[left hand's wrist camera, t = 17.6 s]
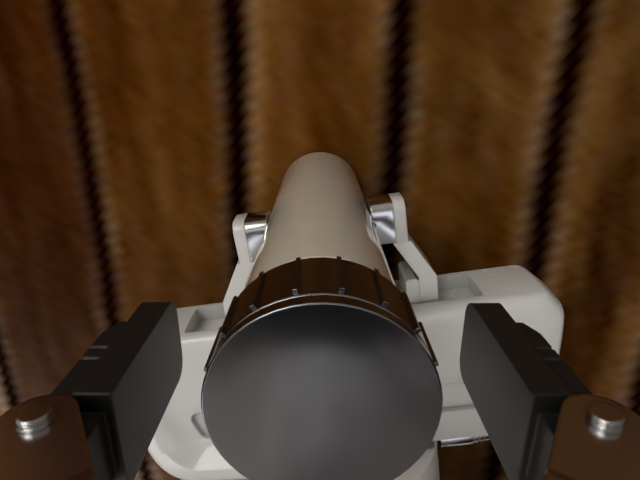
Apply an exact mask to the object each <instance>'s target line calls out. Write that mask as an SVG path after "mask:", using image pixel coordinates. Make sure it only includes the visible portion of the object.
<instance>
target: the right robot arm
mask: <svg viewBox="0 0 640 480" xmlns="http://www.w3.org/2000/svg"><path fill="white" fill-rule="evenodd" d="M367 206H368V209H369V212H370V215H371V218H372V220H373V223H374V226H375V229H376V231H377V234H378V237H379V240H380V242H381V244H390V243H393V244H394V246H395V247H396V248H397V250H398V251H399V252H400V254H401V255H402V256H403V257H404V259H405V260H406V261H400V262H399V263H398V271H399V280H394V281H395V284H396V287H397V288H398V289H399V290H400V291H401V292H404V291H405V292H406V293H407V295H408V298H409V300H410V303H411V305H412V308H413V310H414V313H415V315H416V318H417V320H418V322H422V324H423V327H424V329H425V332H426V334H427V337H428V339H429V341H430V344H431V346H432V349H433V351H434V354H435V356H436V359H437V361H438V364H439V366H437V367H436V368H437V371H438V374H439V377H440V381H441V385H442V394H443V405H442V414H441V418H440V423H439V426H438V429H437V431H436V434H435V436H434V438H433V440H432V442H431V443H430V445H429V447H428V448H427V450H426V451H425V452H424V454H423V455H422V456H421V457H420V459H419V460H418V461H417V462H416V463H415V464H414V465H413V466H412V467H411V468H409V469H408V470H407V471H405V472H404V473H403V474H402V475H400V476H399V477H397V478H396V479H394V480H440V476H439V459H438V451H437V450H439V448H443V447H453V446H462V445H469V444H474V443H478V442H482V441H484V440H485V441H488V440H490V438H489V436H488V434H487V432H486V430H485V428H484V425H483V423H482V421H481V419H480V417H479V415H478V412H477V410H476V408H475V406H474V404H473V402H472V400H471V397H470V395H469V393H468V391H467V389H466V387H465V385H464V382H463V380H462V376H461V371H460V350H461V342H462V334H463V326H464V318H465V311H466V307H467V305H468V304H469V303H500V304H501V305H502V306H503V307H504V308H505V309H506V311H507V312H508V313H509V315H510V316H511V317H512V318H513V320H514V321H515V322H523V323H524V324H526V325H528V326H529V327H531V328H532V329H534V330H536V331H537V332H539V333H540V334H541V335H542V336H543V337H544V338H545V339H546V341H547V342H548V343H549V344H550V345H551V346H552V350H555V351H556V352H557V354H558V355H559V354H560V348H561V342H562V334H563V327H564V310H563V307H562V305H561V303H560V301H559V300H558V298H557V297H556V296H555V295H554V294H553V292H552V291H551V290H550V289H549V288H548V287H547V286H546V285H545V284H544V283H543V282H542V281H540V280H539V279H538V278H537V277H535V276H534V275H533V274H532V273H530V272H529V271H528V270H526V269H525V268H523V267H521V266H518V265H510V266H502V267H494V268H486V269H479V270H471V271H463V272H455V273H447V274H440V275H436V273H435V271H434V269H433V268H432V266H431V264H430V263H429V261H428V259H427V257H426V256H425V255H424V253H423V252H422V251H421V249H420V248H419V247H418V245H417V244H416V243H415V242H414V240H413V239H412V238H411V236H410V235H409V234H408V230H407V217H406V207H405V203H404V199H403V197H402V196H401V194H400V193H399V192H398V193H391V194H384V195H377V196H371V197H367ZM269 217H270V211H263V212H255V213H245V214H239V215H237V216H236V217H235V219H234V221H233V235H234V240H235V244H236V249H237V253H238V258H239V260H238V263H237V265H236V268H235V271H234V273H233V276H232V279H231V282H230V284H229V287H228V290H227V293H226V295H225V298H224V301H223V302H221V303H214V304H206V305H198V306H190V307H182V308H176V309H177V314H178V322H179V331H180V339H181V347H182V356H183V364H182V372H181V377H180V380H179V382H178V385H177V387H176V389H175V391H174V393H173V395H172V398H171V400H170V402H169V404H168V406H167V408H166V411H165V413H164V415H163V417H162V419H161V422H160V424H159V426H158V428H157V430H156V432H155V435H154V437H153V439H152V441H151V443H150V446H149V448H148V451H149V453H150V455H151V456H152V458H153V459H154V460H155V462H156V463H157V464H158V465H159V466H160V467H161V468H162V469H163V470H165V471H166V472H167V473H169V474H171V475H173V476H175V477H177V478H180V479H181V480H249V479H247V478H246V477H244V476H243V475H241V474H240V473H239V472H237V471H236V470H235V469H234V468H233V467H232V466H230V465H229V464H228V463H227V461H226V460H225V459H224V458H223V457H222V456H221V455H220V453H219V452H218V451H217V449H216V448H215V446H214V445H213V443H212V441H211V439H210V437H209V435H208V433H207V430H206V427H205V424H204V421H203V416H202V410H201V390H202V384H203V380H204V377H205V374H206V372H204V367H205V364H206V362H207V359H208V356H209V354H210V351H211V349H212V346H213V344H214V341H215V338H216V336H217V333H218V331H219V328H220V326H221V327H222V325H223V322H224V320H225V317H226V315H227V312H228V309H229V307H230V304H231V302H232V299H233V297H234V296H237V297H238V296H239V295H240V293H241V292H242V291H243V290H244V289H245V287H246V284H247V281H248V278H249V275H250V273H251V270H252V267H253V264H254V261H255V258H256V255H257V252H258V249H259V246H260V244H261V241H262V238H263V235H264V232H265V229H266V226H267V223H268V220H269Z"/></svg>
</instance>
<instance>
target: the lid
mask: <svg viewBox="0 0 640 480" xmlns="http://www.w3.org/2000/svg"><path fill="white" fill-rule="evenodd" d="M437 366H439V364H438V361H437V359H436V356H435V354H434V351H433V349H432V346H431V344H430V341H429V339H428V337H427V334H426V332H425V329H424V327H423V324H422V322H418V320H417V318H416V315H415V313H414V310H413V308H412V305H411V303H410V300H409V298H408V295H407V293H406V292H405V291H404V292H401V291H400V290H399V289H398V288H397V287H396V286H395V285H394V284H393V283H392V282H391V281H389V280H388V279H387V278H385V277H384V276H382V275H381V274H380V272H379V270H378V269H376V268H375V269H374V270H372V269H370V268H368V267H366V266H364V265H361V264H358V263H355V262H352V261H348V260H343V259H342V258H341V257H340V256H337V257H336V258H326V257H320V258H306V259H301V257H298V258H296V260H295V261H292V262H288V263H285V264H282V265H280V266H277V267H275V268H273V269H270V270H269V271H267V272H265V273H264V271H262V272H260V273H259V276H258V278H256V279H255V280H254V281H252V282H251V283H250V284H249V285H248V286H247V287H246V288H245V289H244V290H243V291H242V292H241V293H240V295H239V296H238V297H237V296H234V297H233V299H232V302H231V304H230V307H229V309H228V312H227V315H226V317H225V320H224V322H223V325H222V327H221V326H220V328H219V331H218V333H217V336H216V338H215V341H214V344H213V346H212V349H211V351H210V354H209V356H208V359H207V362H206V364H205V367H204V372H206V374H205V377H204V380H203V384H202V390H201V410H202V416H203V421H204V424H205V427H206V430H207V433H208V435H209V437H210V439H211V441H212V443H213V445H214V446H215V448H216V449H217V451H218V452H219V453H220V455H221V456H222V457H223V458H224V459H225V460H226V461H227V463H228V464H229V465H230V466H232V467H233V468H234V469H235V470H236V471H237V472H239V473H240V474H241V475H243V476H244V477H246V478H247V479H249V480H394V479H396V478H397V477H399V476H400V475H402V474H403V473H404V472H405V471H407V470H408V469H409V468H411V467H412V466H413V465H414V464H415V463H416V462H417V461H418V460H419V459H420V457H421V456H422V455H423V454H424V452H425V451H426V450H427V448H428V447H429V445H430V443H431V442H432V440H433V438H434V436H435V434H436V431H437V429H438V426H439V423H440V418H441V414H442V405H443V394H442V385H441V381H440V377H439V374H438V371H437V368H436V367H437Z"/></svg>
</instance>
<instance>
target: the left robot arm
mask: <svg viewBox="0 0 640 480" xmlns="http://www.w3.org/2000/svg"><path fill="white" fill-rule="evenodd" d="M182 364H183V356H182V347H181V339H180V331H179V322H178V314H177V309H176V305H175V304H174V303H173V302H143V303H142V304H141V305H140V306H139V307H138V308H137V310H136V311H135V312H134V313H133V315H132V316H131V317H130V319H129V320H128V321H127V322H119V323H117V324H116V325H114V326H112V327H111V328H109V329H108V330H106V331H104V332H103V333H102V334H101V335H100V336H99V337H98V339H97V340H96V341H95V342H94V343H93V344H92V346H91V349H88V350H87V352H86V353H85V354H84V355H83V356H82V360H79V361H78V362H77V363H76V365H75V366H74V367H73V368H72V369H71V371H70V372H69V373H68V374H67V375H66V377H65V378H64V379H63V380H62V381H61V382H60V384H59V385H58V386H57V387H56V388H55V390H54V391H53V392H52V393H51V394H50V395H44V396H39V397H36V398H32V399H30V400H27V401H25V402H22V403H20V404H18V405H16V406H15V407H13V408H11V409H10V410H8V411H7V412H5V413H4V414H3V415H2V416H0V480H134V478H135V476H136V474H137V472H138V469H139V467H140V465H141V463H142V461H143V459H144V456H145V454H146V452H147V450H148V448H149V446H150V443H151V441H152V439H153V437H154V435H155V432H156V430H157V428H158V426H159V424H160V422H161V419H162V417H163V415H164V413H165V411H166V408H167V406H168V404H169V402H170V400H171V398H172V395H173V393H174V391H175V389H176V387H177V385H178V382H179V380H180V377H181V372H182ZM460 371H461V376H462V380H463V382H464V385H465V387H466V389H467V391H468V393H469V395H470V397H471V400H472V402H473V404H474V406H475V408H476V410H477V412H478V415H479V417H480V419H481V421H482V423H483V425H484V428H485V430H486V432H487V434H488V436H489V438H490V440H491V443H492V445H493V447H494V449H495V451H496V453H497V455H498V458H499V460H500V462H501V464H502V466H503V468H504V470H505V473H506V475H507V477H508V479H509V480H640V416H638V415H637V414H636V413H635V412H633V411H632V410H630V409H629V408H627V407H625V406H624V405H622V404H620V403H618V402H615V401H613V400H610V399H608V398H604V397H601V396H596V395H592V394H591V392H590V391H589V390H588V389H587V388H586V386H585V385H584V384H583V383H582V382H581V381H580V379H579V378H578V377H577V376H576V375H575V374H574V372H573V371H572V370H571V369H570V368H569V366H568V365H567V364H566V363H565V362H564V361H561V357H560V356H559V355H558V354H557V352H556V351H555V350H552V346H551V345H550V344H549V343H548V342H547V341H546V339H545V338H544V337H543V336H542V335H541V334H540V333H539V332H537V331H536V330H534V329H532V328H531V327H529V326H528V325H526V324H524V323H523V322H515V321H514V320H513V318H512V317H511V316H510V315H509V313H508V312H507V311H506V309H505V308H504V307H503V306H502V305H501V304H500V303H469V304H468V305H467V307H466V311H465V318H464V326H463V334H462V342H461V350H460Z"/></svg>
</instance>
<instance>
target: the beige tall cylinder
mask: <svg viewBox="0 0 640 480" xmlns="http://www.w3.org/2000/svg"><path fill="white" fill-rule="evenodd" d="M337 256H340V257H341V258H342V259H343V260H348V261H352V262H355V263H358V264H361V265H364V266H366V267H368V268H370V269H372V270H374V269H375V268H376V269H378V270H379V272H380V274H381V275H382V276H384V277H385V278H387V279H388V280H389V281H391V282H392V283H393V284H394V285H395V286H396V284H395V281H394V278H393V276H392V273H391V270H390V267H389V265H388V262H387V259H386V256H385V253H384V251H383V248H382V245H381V242H380V240H379V237H378V234H377V231H376V229H375V226H374V223H373V220H372V218H371V215H370V212H369V209H368V206H367V204H366V201H365V198H364V195H363V193H362V190H361V187H360V184H359V182H358V179H357V176H356V174H355V172H354V171H353V169H352V168H351V166H350V165H349V164H348V163H347V162H346V161H344V160H343V159H342V158H340V157H338V156H336V155H333V154H330V153H324V152H316V153H310V154H307V155H304V156H302V157H300V158H299V159H297V160H296V161H295V162H293V163H292V164H291V165H290V166H289V168H288V169H287V171H286V172H285V174H284V177H283V179H282V182H281V185H280V188H279V191H278V194H277V197H276V200H275V203H274V206H273V208H272V211H271V214H270V217H269V220H268V223H267V226H266V229H265V232H264V235H263V238H262V241H261V244H260V246H259V249H258V252H257V255H256V258H255V261H254V264H253V267H252V270H251V273H250V276H249V279H248V281H247V284H246V287H247V286H248V285H249V284H250V283H251V282H252V281H254V280H255V279H256V278H258V276H259V273H260V272H262V271H264V273H265V272H267V271H269V270H270V269H273V268H275V267H277V266H280V265H282V264H285V263H288V262H292V261H295V260H296V258H298V257H301V259H306V258H320V257H326V258H336V257H337ZM246 287H245V288H246Z"/></svg>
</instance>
